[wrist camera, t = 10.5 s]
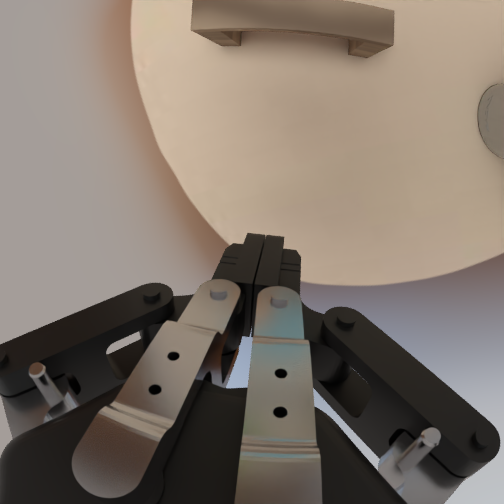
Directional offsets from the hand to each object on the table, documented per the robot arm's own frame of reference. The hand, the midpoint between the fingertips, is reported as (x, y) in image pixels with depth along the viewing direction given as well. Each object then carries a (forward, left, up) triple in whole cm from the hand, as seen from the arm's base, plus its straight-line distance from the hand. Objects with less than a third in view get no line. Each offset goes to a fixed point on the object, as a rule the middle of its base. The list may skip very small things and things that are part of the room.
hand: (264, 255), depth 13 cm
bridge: (0, -13, -22) cm, 26 cm away
